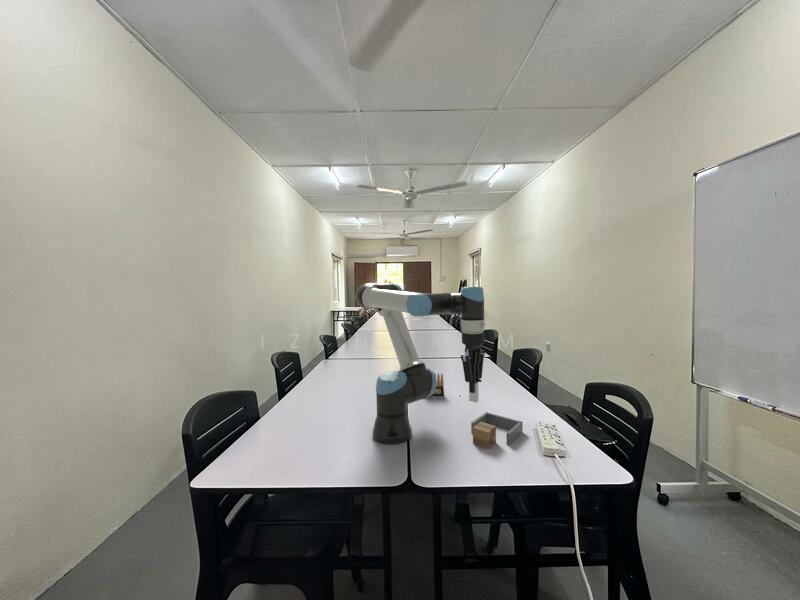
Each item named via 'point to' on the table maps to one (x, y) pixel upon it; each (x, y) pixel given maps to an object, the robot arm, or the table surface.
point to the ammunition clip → (439, 386)
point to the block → (484, 435)
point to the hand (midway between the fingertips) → (473, 401)
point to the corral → (501, 425)
